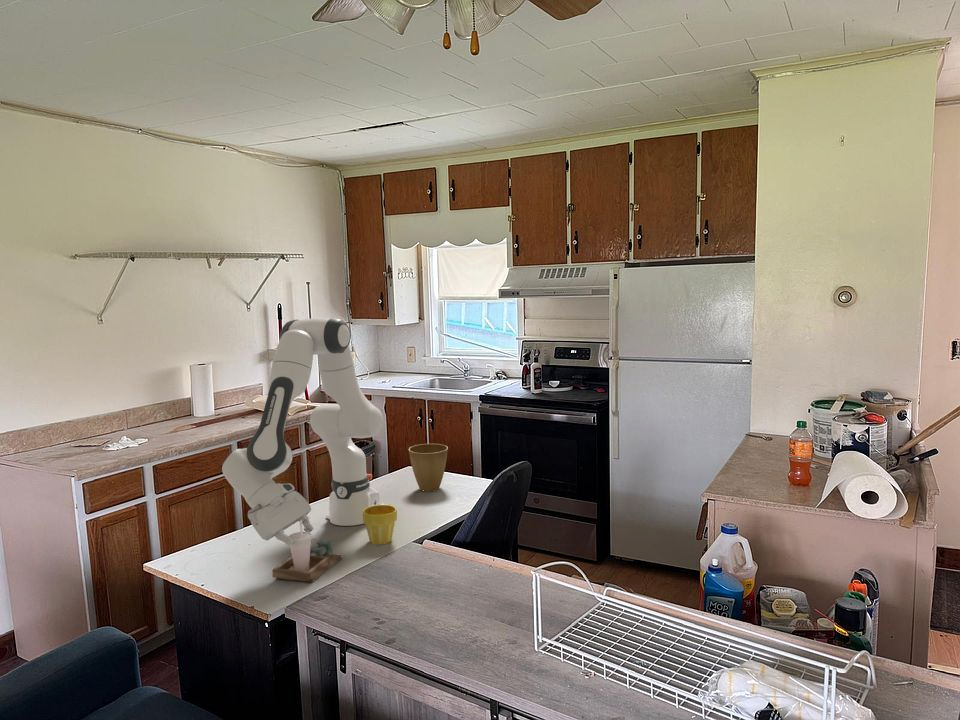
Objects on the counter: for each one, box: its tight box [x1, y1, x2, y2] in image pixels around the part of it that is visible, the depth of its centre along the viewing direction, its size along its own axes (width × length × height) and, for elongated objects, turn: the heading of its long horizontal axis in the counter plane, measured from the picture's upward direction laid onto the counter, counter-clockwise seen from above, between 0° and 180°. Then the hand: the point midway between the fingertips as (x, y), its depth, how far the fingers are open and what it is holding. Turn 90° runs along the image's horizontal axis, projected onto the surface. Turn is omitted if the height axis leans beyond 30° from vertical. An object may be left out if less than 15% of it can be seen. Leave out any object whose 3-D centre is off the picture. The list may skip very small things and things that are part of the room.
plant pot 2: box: [408, 443, 449, 492], centre depth 256 cm, size 15×15×16 cm
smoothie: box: [288, 520, 313, 572], centre depth 182 cm, size 6×6×14 cm
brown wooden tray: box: [271, 540, 342, 583], centre depth 187 cm, size 20×11×4 cm, turn 164°
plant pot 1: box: [363, 504, 398, 545], centre depth 205 cm, size 10×10×10 cm
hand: (301, 537), depth 182 cm, fingers open, 8 cm apart
